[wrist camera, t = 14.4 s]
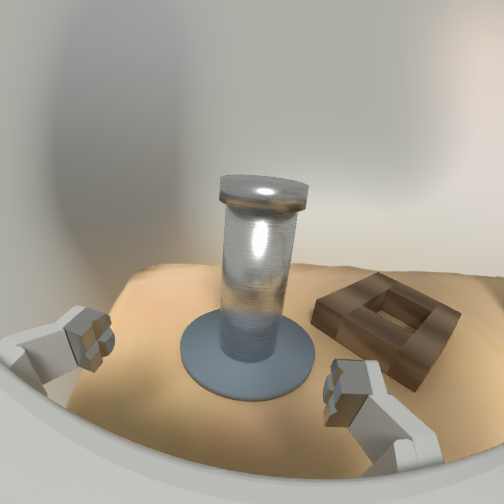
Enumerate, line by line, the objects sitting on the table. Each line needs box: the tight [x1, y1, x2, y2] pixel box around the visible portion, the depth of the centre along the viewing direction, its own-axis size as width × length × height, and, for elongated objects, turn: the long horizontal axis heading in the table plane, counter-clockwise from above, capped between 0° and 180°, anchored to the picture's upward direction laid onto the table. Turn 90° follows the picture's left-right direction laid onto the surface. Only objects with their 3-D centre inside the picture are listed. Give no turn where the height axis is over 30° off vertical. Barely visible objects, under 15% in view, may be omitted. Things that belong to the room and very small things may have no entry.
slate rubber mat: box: [180, 309, 315, 401], centre depth 24 cm, size 12×12×1 cm
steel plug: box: [219, 175, 309, 363], centre depth 21 cm, size 6×6×14 cm
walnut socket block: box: [311, 272, 461, 392], centre depth 27 cm, size 14×14×3 cm
